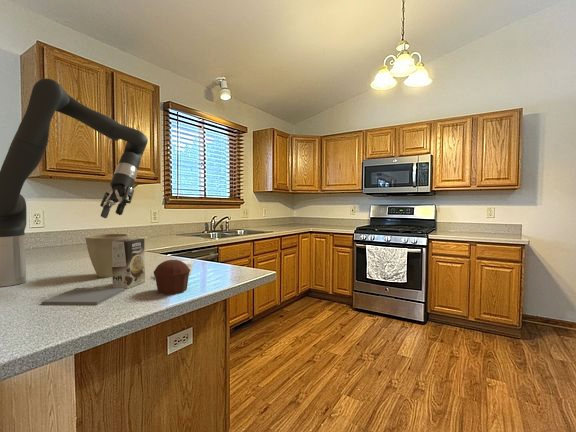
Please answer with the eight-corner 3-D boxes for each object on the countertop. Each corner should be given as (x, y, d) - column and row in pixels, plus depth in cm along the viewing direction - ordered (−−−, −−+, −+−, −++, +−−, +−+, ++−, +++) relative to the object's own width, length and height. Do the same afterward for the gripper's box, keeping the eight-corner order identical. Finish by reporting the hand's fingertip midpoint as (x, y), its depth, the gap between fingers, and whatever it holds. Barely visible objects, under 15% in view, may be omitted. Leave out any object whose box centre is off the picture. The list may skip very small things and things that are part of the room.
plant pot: (76, 278, 117) (75, 236, 117) (110, 270, 132) (109, 233, 131) (106, 281, 113) (105, 238, 112) (138, 272, 127) (137, 234, 126)
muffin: (147, 291, 100) (146, 260, 100) (178, 284, 109) (178, 256, 108) (165, 298, 92) (164, 265, 92) (197, 290, 101) (197, 260, 100)
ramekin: (184, 270, 130) (183, 258, 130) (199, 274, 123) (199, 261, 123) (158, 275, 122) (158, 262, 122) (173, 280, 115) (173, 266, 115)
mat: (41, 304, 87) (41, 301, 87) (76, 290, 101) (76, 288, 101) (97, 304, 87) (97, 301, 87) (124, 290, 101) (124, 288, 101)
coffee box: (128, 289, 103) (127, 241, 102) (111, 288, 104) (110, 240, 103) (146, 282, 112) (145, 238, 111) (130, 281, 113) (129, 237, 112)
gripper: (103, 176, 117) (88, 214, 110) (128, 168, 111) (114, 208, 104) (121, 185, 123) (108, 222, 116) (145, 179, 117) (132, 217, 110)
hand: (110, 215), depth 110 cm, fingers open, 8 cm apart
